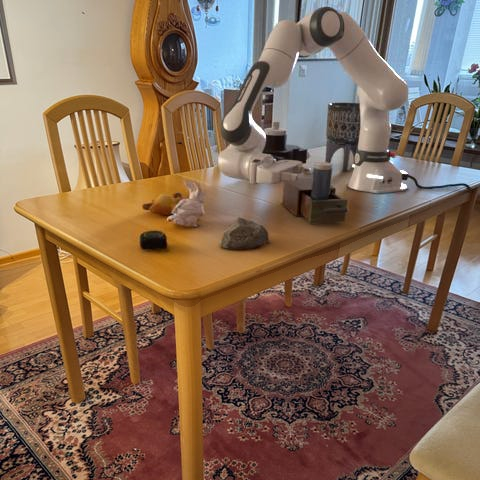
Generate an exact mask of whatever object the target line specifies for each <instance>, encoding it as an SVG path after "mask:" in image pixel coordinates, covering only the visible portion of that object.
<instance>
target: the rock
mask: <svg viewBox="0 0 480 480" xmlns="http://www.w3.org/2000/svg"><path fill="white" fill-rule="evenodd" d="M269 241H270V238H269V232H268V230H267V229H266V228H265V227H264V226H263V225H261V224H258V223H257V222H254V221H253V220H247V219H245V218H242V217H237V218H236V219H235V220H234V222H233V223H232V224H231V225H230V226H228V227H227V229H225V230H224V232H223V235H222V238H221V242H220V244H221V247H223V249H230V250H233V251H242V250H248V249H249V250H250V249H251V250H252V249H256V248H258V247H259V246H261V245H264V244H265V243H266V242H269Z"/></svg>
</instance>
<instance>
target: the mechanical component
mask: <svg viewBox="0 0 480 480" xmlns="http://www.w3.org/2000/svg"><path fill="white" fill-rule="evenodd" d="M280 124H281V123H280V121H272V124H271V125H272V126H271V127H266V128H264V129H263V132H264V133H265V135H266V144H265V147H264V150H263V153H262V154H269V155H272V156H273V158H274V159H275V160H276V161H279V160H294V161H301V162H302V163H303V165H305V164H307V160H309V159H310V157H311V155H310V154H311V153H310V152H309V151H308V149H307V148H301V147H300V146H299V145H294V144H287V140H288V138H287V137H288V129H287V128H282V127H280Z"/></svg>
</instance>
